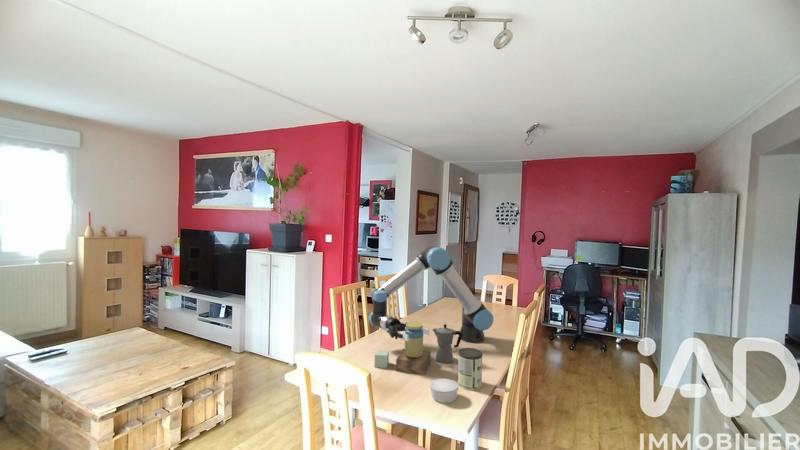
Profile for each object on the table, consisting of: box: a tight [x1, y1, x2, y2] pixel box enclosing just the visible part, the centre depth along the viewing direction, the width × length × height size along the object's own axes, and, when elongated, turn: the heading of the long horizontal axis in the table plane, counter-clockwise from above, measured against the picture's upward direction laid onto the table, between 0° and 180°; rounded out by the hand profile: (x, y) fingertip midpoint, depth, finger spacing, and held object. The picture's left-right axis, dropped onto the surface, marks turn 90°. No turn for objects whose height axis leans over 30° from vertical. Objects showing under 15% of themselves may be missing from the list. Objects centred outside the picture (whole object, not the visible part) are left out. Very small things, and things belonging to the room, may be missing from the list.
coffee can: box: [457, 347, 483, 391], centre depth 149 cm, size 10×10×14 cm
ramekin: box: [429, 378, 459, 404], centre depth 138 cm, size 11×11×5 cm
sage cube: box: [374, 349, 390, 369], centre depth 168 cm, size 6×6×6 cm
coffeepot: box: [432, 323, 462, 364], centre depth 175 cm, size 15×9×18 cm, turn 68°
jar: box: [404, 320, 424, 358], centre depth 166 cm, size 9×9×15 cm
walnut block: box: [395, 348, 431, 375], centre depth 167 cm, size 14×14×6 cm
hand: (418, 335), depth 164 cm, fingers open, 13 cm apart
